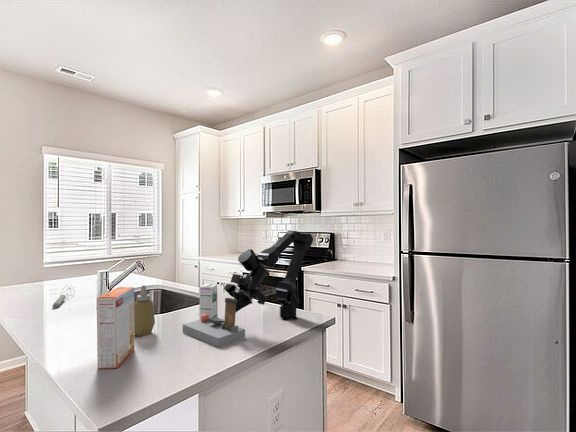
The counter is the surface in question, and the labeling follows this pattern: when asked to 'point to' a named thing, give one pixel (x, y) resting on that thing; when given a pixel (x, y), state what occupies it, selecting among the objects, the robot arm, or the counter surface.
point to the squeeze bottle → (143, 314)
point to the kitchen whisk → (61, 298)
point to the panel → (213, 332)
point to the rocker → (215, 321)
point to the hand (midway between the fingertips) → (232, 312)
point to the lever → (230, 312)
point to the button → (204, 317)
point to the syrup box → (208, 300)
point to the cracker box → (115, 327)
